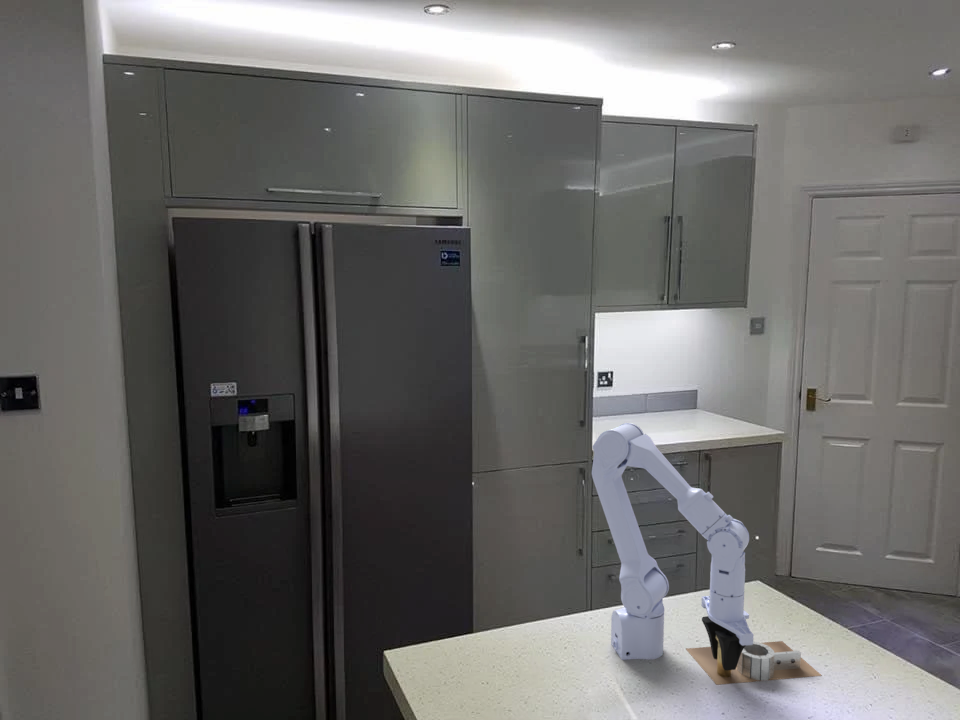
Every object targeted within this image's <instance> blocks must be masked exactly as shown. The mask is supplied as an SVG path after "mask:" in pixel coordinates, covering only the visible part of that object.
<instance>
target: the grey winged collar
mask: <svg viewBox="0 0 960 720" xmlns="http://www.w3.org/2000/svg"><path fill="white" fill-rule="evenodd" d="M763 643H764V642H759V641H754V640H753V645H746V646H745V647H744V649H743V651H742V653H741V655H740V658H739V661H738V664H737V670H738V671H739V672H740V673H741V674H743V676H746V677H748V678H751V679H754V680H759V681H758V682H765V681H764V680H767V681H771V680H770V679H771V678H773V677H774V670H785V669H796V668H800V662H801V658H802V657H801V656H802V652H801V651H800V650H793V651H789V652H776V653H774V650H773V649H771V648H770V647H768V646H767V645H765V644H763ZM760 680H761V681H760Z"/></svg>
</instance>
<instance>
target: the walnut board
mask: <svg viewBox="0 0 960 720" xmlns="http://www.w3.org/2000/svg"><path fill="white" fill-rule="evenodd" d="M762 643H763V644H765V645H767V646H768V647H770V648H771V649H773V650H774V653H776V652H789V651H794V650H793V649H792V648H791V647H790V646H789V645H787V643H785V642H784V641H783V640H779V641H768V642H767V641H765V642H762ZM685 650H686V651H687V652H688V654H689V655H690V657H692V658H693V659H694V661H695V662H696V663H697V665H699V666H700V667H701V669H702V670H703V671H704V673H706V675H708V677H709V678H710V680H712V682H713V683H714V684H715V685H716V686H719V685H729V684H731V685H732V684H742V683H752V682H753V683H755V682H762V681H761V680H760V681H759V680H754V679H751V678H748V677H746V676H743V674H741V673H740V672H739V671H738V670H737V667H736V669H735V670H731V676H730V677H721V676H719V675H718V674H717V659H714V658H713V654H712V650H711V646H701V647H690V648H685ZM821 676H822V674H821V673H820V672H818V670H816V669H815V668H814V667H813V666H811V664H810V663H808V662H807V661H806V660H805V659H803V657H801V662H800V668H796V669H785V670H774V677H773V678H771V679H770V680H769V681H775V680H778V681H779V680H786V679H787V680H789V679H799V678H801V679H802V678H811V677H821ZM766 681H767V682H768V680H764V681H763V682H766Z"/></svg>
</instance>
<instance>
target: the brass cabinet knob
mask: <svg viewBox="0 0 960 720" xmlns="http://www.w3.org/2000/svg"><path fill="white" fill-rule="evenodd" d="M716 640H717V641H718V653H717V674H718V675H719V676H721V677H730V676H731V670H724V669H723V666H722V658H721V648H720V644H719V640H718V638H717V635H716Z"/></svg>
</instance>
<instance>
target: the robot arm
mask: <svg viewBox="0 0 960 720" xmlns="http://www.w3.org/2000/svg"><path fill="white" fill-rule="evenodd" d="M592 450H593V461H592V468H591V478H592V481H593V483H594V486H595V490H596V493H597V495H598V498H599V502H600V504H601V508H602V510H603V514H604V516H605V519H606V522H607V525H608V527H609V530H610V534H611V537H612V540H613V542H614V546H615V548H616V552H617V554H618V558H619V560H620V564H621V565H620V569H619V570H620V571H619V577H618V579H619V580H618V581H619V583H620V587H621V589H620V601H621V603H622V605H623V606H622V607H621V608H619V609H615V610H613V611H612V613H611V629H610V633H611V634H610V636H611V637H610V638H611V639H610V644H611V647H612V648H613V649H614V650H615V652H616V654H617V655H618V656H619V658H620V660H623V661H626V660H637V659H638V660H656V659H659V658H660V657H661V656H662V655H664V641H665V639H664V637H665V635H664V634H665V632H664V631H665V605H664V603H663V599H664V598H665V597H666V596H667V594H668V592H669V589H670V584H669V583H670V582H669V580H668V578H667V576H666V574H664V572H663V571H662V570H661V569H660V566H658V565H659V564H658V563H657V560H656V559H655V558H654V557H652V556H651V555H650V554H649V553H648V550H647V547H646V544H645V541H644V539H643V535H642V532H641V529H640V527H639V523H638V520H637V518H636V515H635V513H634V508H633V507H632V504H631V500H630V497H629V495H628V491H627V488H626V486H625V483H624V480H623V477H622V476H623V473H624V471H625V470H626V469H627V467H631V468H640V469H644V470H646V471H647V473H648V474H650V475H651V477H653V479H655V480H656V481H657V482H658V483H659V484H660V485H661V486H663V488H664V489H665V490H666V491H667V492H669V493H670V494H671V496H672V497H674V498H675V500H676V501H677V511H679V513H680V514H681V515H682V516H683V517H684V518H685V519H686V520H687V521H688V522H689V523H690V525H692V527H694V529H695V530H697V532H698V533H699V534H700V535H701V536H702V537H703V538H704V539H705V540H707V541H706V547H707V550H708V552H709V553H710V554H711V562H710V575H709V576H710V578H709V579H710V580H709V595H704V596H702V595H701V607H702V608H703V609H706V615H707V616H703V617H701V622H702V623H703V625H704V628H705V630H706V632H707V637H708V639H709V640H708V641H709V644H710V647H711V650H712V654H713V658H714V659H717V653H718V641H717V640H716V635H717V638H718V640H719V644H720V648H721V658H722V666H723V669H724V670H735V669H736V667H737V664H738V661H739V658H740V655H741V653H742V651H743V649H744V647H745V646H746V645H753V641H754V633H753V632H752V631H751V629H750V627H749V625H748V622H747V620H748V619H749V618H750V614H749V613H748V612H747V611H746V610H744V609H745V608H744V607H745V585H746V584H745V583H746V565H745V564H746V552H745V549H746V548H747V547H748V545H749V542H750V533H749V531H748V529H747V527H746V526H745V525H744V523H743V522H742V521H741V520H738V519H737V518H734V517H733V516H732V515H731V514H727V513H726V512H725V511H724V510H723V509H722V508H721V507H720V506H719V505H718V504H717V503H716V502H715V501H714V500H713V498H714V495H713V494H712V493H710V491H707V492H706V491H704V490H703V489H702V488H698V487H697V488H696V487H692V486H691V485H690V483H688V482H687V481H686V480H685V478H684V477H683V476H682V475H681V474H680V473H679V471H678V470H677V469H676V468H675V467H674V466H673V465H672V464H671V462H669V460H668V459H667V457H665V455H664V454H663V453H662V452H661V451H660V450H659V448H658V447H657V446H656V444H655V443H654V441H653V439H652V438H651V437H650V436H649V435H648V434H646V433H644V432H643V430H642V429H641V428H640V426H638V425H637V424H635V423H632V422H624V423H622V424H620V425H619V426H617V427H614V428H612V429H608V430H607V429H606V430H604V431H603V432H601V433H600V435H599V436H598V437H597V438H596V441H595V442H594V444H593V445H592ZM627 653H628V654H627Z"/></svg>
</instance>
